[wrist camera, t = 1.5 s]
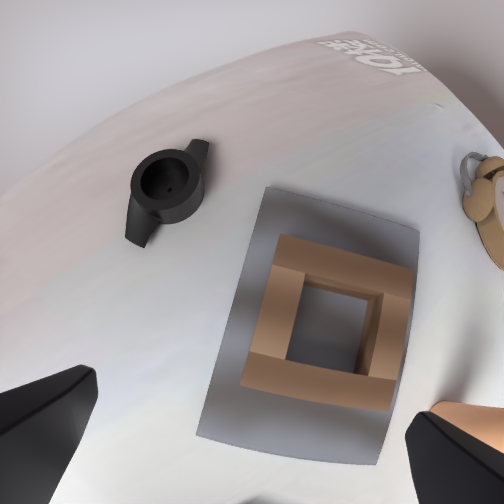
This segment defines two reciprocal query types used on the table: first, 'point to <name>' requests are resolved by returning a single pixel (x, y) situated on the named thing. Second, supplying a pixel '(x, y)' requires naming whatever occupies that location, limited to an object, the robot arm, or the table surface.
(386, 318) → the block
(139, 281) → the table surface
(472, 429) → the terracotta pin
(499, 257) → the alarm clock
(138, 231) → the black hollow winged cylinder
